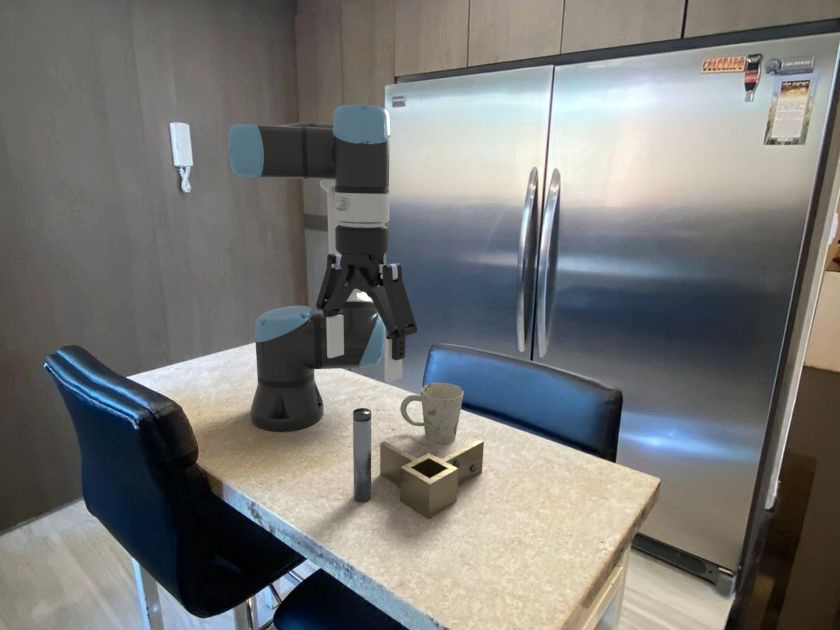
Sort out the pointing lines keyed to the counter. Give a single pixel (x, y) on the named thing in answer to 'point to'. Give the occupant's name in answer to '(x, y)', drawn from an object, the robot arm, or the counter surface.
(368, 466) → the pin
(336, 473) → the counter surface
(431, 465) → the hinge
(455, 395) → the mug
